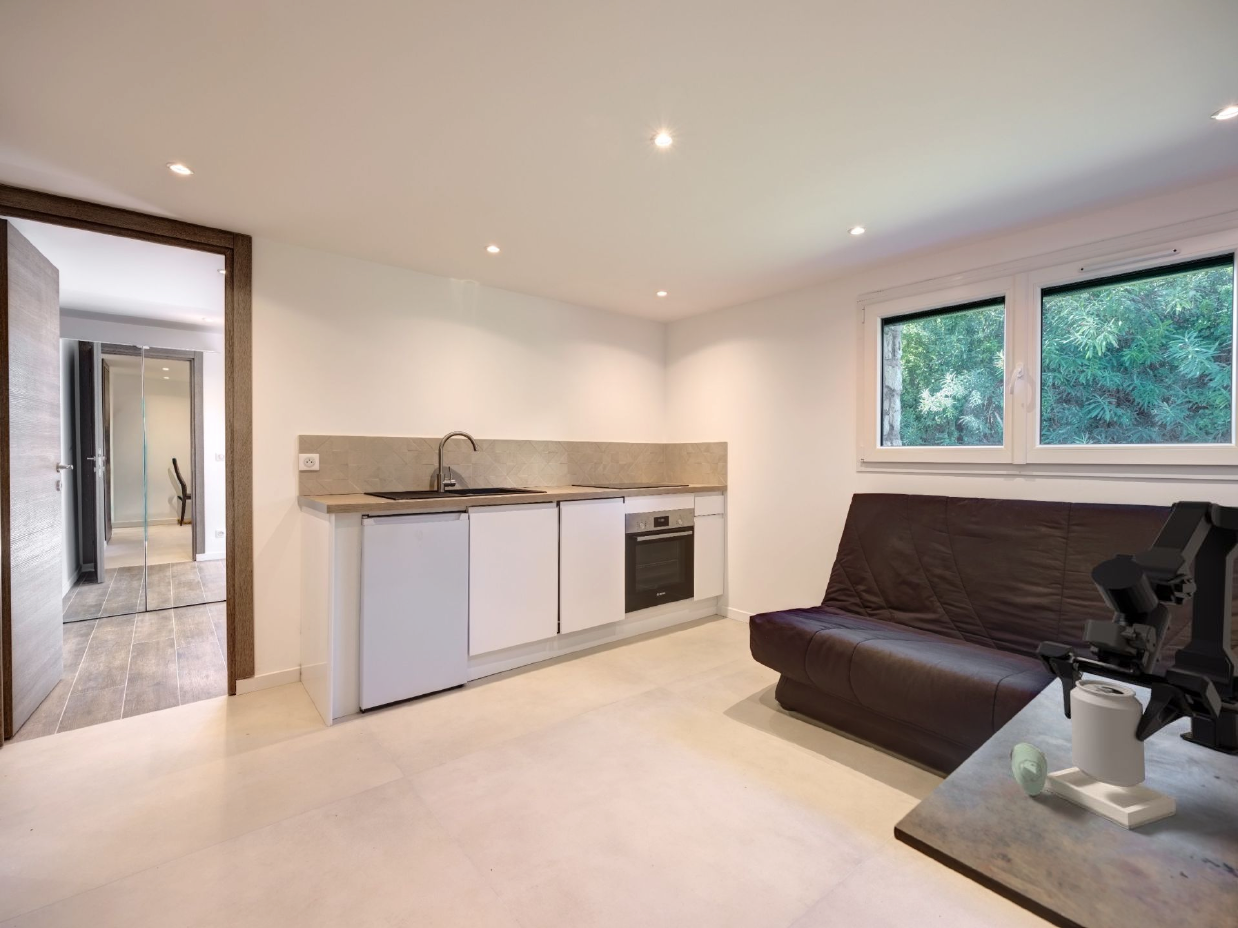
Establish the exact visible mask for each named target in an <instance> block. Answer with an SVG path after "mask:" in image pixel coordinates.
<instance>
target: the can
mask: <svg viewBox="0 0 1238 928" xmlns="http://www.w3.org/2000/svg"><path fill="white" fill-rule="evenodd" d="M1076 685H1077V687H1075V688H1074V689H1072V690H1071V692H1070V699H1071V719H1070V724H1071V725H1070V727H1071V729H1070V731H1071V761H1072V763H1073V765H1075V766H1074V767H1078V768H1079V769H1080V770H1081V772H1082V773H1084V774H1085V775H1086V776H1088V777H1090V778H1092V779H1094V780H1097V781H1100V782H1102V783H1106V784H1110V785H1114V786H1120V787H1133V786H1136V785H1137V784H1141V783H1143V782H1144V781H1146V763H1145V740H1144V741H1143V742H1141V741H1138V740H1137V738H1136V733H1137V729H1138V725H1139V723H1140V721H1141V718H1142V716H1143V714H1144V706H1143V703H1142V702H1141V701H1140V700H1139V699H1138V698H1137V697H1136V696H1137V692H1136V691H1135V690H1134V689H1132V688H1131V687H1128V686H1126V685H1122V684H1120V683H1116V682H1112V681H1106V680H1100V679H1091V678H1090V679H1086V678H1085V679H1082V680H1078V681H1076Z"/></svg>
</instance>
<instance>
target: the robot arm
mask: <svg viewBox="0 0 1238 928" xmlns="http://www.w3.org/2000/svg"><path fill="white" fill-rule="evenodd" d="M1237 557H1238V506H1227V505H1226V506H1225V505H1220V504H1218V503H1215V502H1213V503H1212V502H1211V501H1209V500H1208V501H1203V500H1202V501H1201V500H1200V501H1199V500H1195V501H1194V500H1193V501H1192V500H1179V501H1176V502H1172V504H1171V506H1170V515H1169V516H1168V518H1167V520H1166V522H1165V523H1164V525H1163V526H1162V528H1161V530H1160V531H1159V534H1158V535H1157V536H1156V538H1155V540H1154V542H1153V543H1152V545H1151V547H1150V548H1149V549H1148V550H1145V551H1142V552H1140V553H1137V554H1130V553H1129V554H1127V553H1119V552H1118V553H1116V556H1115V558H1111V559H1107V560H1104V561H1102V562H1100V563H1099V564H1097V565H1096V566H1094V567H1093V568H1092V570H1091V573H1090V574H1091V575H1090V576H1091V579H1092V580H1093V582H1094V584H1095V586H1096V588H1097V590H1098V591H1099V594H1100V595H1101V597H1102V598H1103V601H1105V604H1106V605H1107V607H1108V608H1110V609H1111V610H1113V612H1114V616H1113V617H1112V620H1111V622H1107V621H1103V620H1102V621H1101V620H1096V619H1089V618H1087V619H1086V620H1085V626H1084V631H1083V637H1082V642H1083V643H1085V644H1086V643H1087V644H1088V645H1089V646H1090V649H1089V652H1090V653H1091V655H1092V656H1094V657H1097V659H1096V660H1092V659H1088V658H1084V657H1080V656H1079V655H1078V653H1077V652H1076V650H1075V648H1074V646H1073V645H1066V644H1062V643H1058V642H1053V641H1049V640H1046V641H1042V642H1041V643H1040V644H1039V645H1038V647H1037V649H1036V651H1035V655H1036V656H1037V658H1038V659H1039V660H1040V662H1041V664H1042V665H1043V667H1044V668H1045V671H1046V672H1047V673H1048V674H1049V675H1052V676H1053V677H1054V678H1058V679H1059V680H1060V682H1061V685H1062V695H1063V696H1062V697H1063V698H1062V699H1063V710H1064V711H1063V712H1064V716H1065V717H1066V718H1067V719H1068V720H1071V699H1070V692H1071V690H1072V689H1074V688H1075V687H1077V685H1076V681H1078V680H1083V679H1082V678H1083V676H1084V673H1085V674H1089V675H1093V676H1096V677H1101V678H1104V679H1105V678H1106V679H1109V680H1113V681H1116V682H1121V683H1124V684H1127V685H1128V684H1129V685H1133V686H1136V687H1137V686H1138V687H1139V688H1146V689H1149V690H1150V697H1149V700H1148V703H1147V705H1146V708H1145V709H1144V711H1143V716H1142V718H1141V721H1140V723H1139V725H1138V729H1137V733H1136V738H1137V740H1138V741H1141V742H1143V741H1144V742H1145V740H1147V739H1149V738H1150V737H1152V736H1153V735H1155V734H1156V733H1157V732H1159V731H1160V730H1161V729H1163V728H1165V727H1166V726H1168V725H1170V724H1172V723H1174V722H1176V721H1178V720H1180V719H1182V718H1184V717H1186V718H1190V719H1189V720H1190V723H1189V724H1190V731H1187V732H1183V733H1180V734H1179V737H1180V738H1181V739H1183V740H1186V741H1190V742H1193V743H1196V744H1199V745H1202V746H1205V747H1208V748H1211V749H1214V750H1216V751H1220V752H1222V753H1226V754H1228V755H1234V754H1238V657H1237V656H1236V654H1235V652H1234V651H1233V650H1232V648H1231V641H1232V640H1231V639H1232V638H1231V637H1232V635H1231V634H1232V615H1233V614H1232V611H1233V610H1232V607H1233V582H1234V562H1235V559H1236V558H1237ZM1192 562H1193V572H1192V573H1193V575H1191V572H1190V566H1191V564H1192ZM1190 599H1192V600H1191V619H1190V620H1191V622H1190V639H1189V640H1190V641H1188V642H1187V643H1186V644H1185V646H1183V647H1182V648H1177V650H1176V652H1175V653H1174V663H1173V664H1172V665H1171V667H1170V668H1167V669H1165V672H1164V673H1165V674H1164V676H1161V675H1156V674H1153V671H1154V668H1155V666H1156V663H1161V661H1162V659H1163V655H1162V654H1161V648H1162V645H1163V644H1164V643H1163V642H1164V640H1165V637H1166V634H1167V631H1171V630H1172V622H1171V620H1172V612H1170V610H1169V608H1167V606H1166V605H1164V604H1169V605H1173V606H1175V605H1176V606H1183V605H1185V604H1186V603H1187V601H1188V600H1190Z"/></svg>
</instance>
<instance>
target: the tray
mask: <svg viewBox="0 0 1238 928" xmlns="http://www.w3.org/2000/svg"><path fill="white" fill-rule="evenodd" d="M1044 790H1045V791H1047V790H1048V792H1049V791H1050V793H1051V792H1053V793H1054V795H1055V794H1056V796H1057V795H1058V797H1060V796H1061V797H1060V798H1061V799H1064V800H1066V799H1067V800H1066V801H1068V802H1070V801H1071V802H1070V803H1073V804H1074V805H1076V806H1079V807H1080V806H1081V808H1082V809H1084V810H1086V811H1088V812H1091V813H1092V814H1095V815H1097V816H1099V817H1100V818H1103V819H1105V820H1107V821H1110V822H1111V823H1114V824H1115V825H1118V826H1120V827H1122V828H1124V829H1126V830H1132V829H1134V828H1137V827H1141V826H1144V825H1146V824H1151V823H1154V822H1156V821H1159V820H1162V819H1165V818H1169V817H1171V816H1175V815H1176V798H1175V797H1172V796H1169V795H1168V794H1165V793H1163V792H1160V791H1159V790H1155V789H1152V788H1150V787H1148V786H1146V785H1143V784H1141V783H1139V784H1137V785H1136V786H1133V787H1120V786H1114V785H1110V784H1106V783H1102V782H1100V781H1097V780H1094V779H1092V778H1090V777H1088V776H1086V775H1085V774H1084V773H1082V772H1081V770H1080V769H1079V768H1078V767H1076V766H1074V767H1073V766H1072V767H1070V768H1065V769H1062V770H1058V771H1054V772H1049V773H1047V775H1046V781H1045V784H1044ZM1053 793H1052V794H1053Z"/></svg>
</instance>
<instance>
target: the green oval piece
mask: <svg viewBox="0 0 1238 928" xmlns="http://www.w3.org/2000/svg"><path fill="white" fill-rule="evenodd" d="M1009 755H1010V765H1011V769H1012V773H1013V774H1014V775H1013V776H1014V777H1015V779H1016V781H1017V783H1018V785H1019V786H1020V788H1021V789H1022V790H1023V791H1024V792H1025V793H1026V794H1027V795H1029V796H1032V797H1033V796H1035V797H1036V796H1037V795H1038V794H1039V795H1040V793H1042V791H1043V790H1044V788H1045V781H1046V775H1047V774H1048V762H1047V759H1046V754H1045V752H1043V751H1041V750H1040V749H1038V748H1037V747H1035V746H1034V745H1033V744H1030V743H1027V742H1020V743H1016V744H1015V745H1014V746H1013V747H1012V749H1011V751H1010V754H1009Z"/></svg>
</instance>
